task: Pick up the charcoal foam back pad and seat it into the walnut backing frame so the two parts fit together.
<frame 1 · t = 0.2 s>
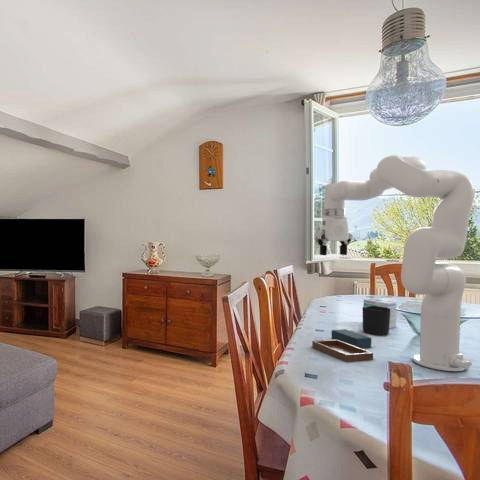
hand: (333, 254, 166), 31 cm above the table, tool pointing down, fingers open, 9 cm apart
back pad: (350, 343, 146), on the table
backing frame: (341, 353, 135), on the table
light bulb box: (379, 325, 173), on the table
pen holder: (375, 333, 161), on the table
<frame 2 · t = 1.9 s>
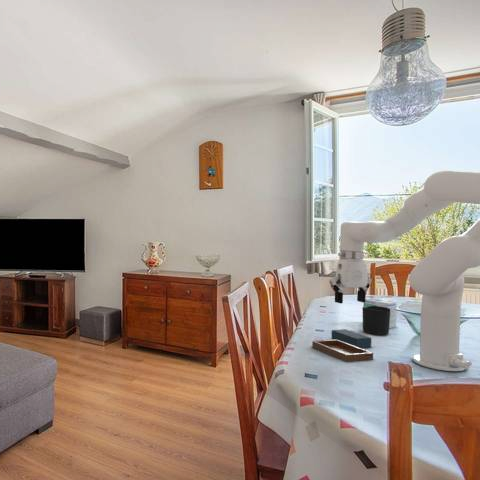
hand: (350, 302, 147), 15 cm above the table, tool pointing down, fingers open, 9 cm apart
nothing on the table moved.
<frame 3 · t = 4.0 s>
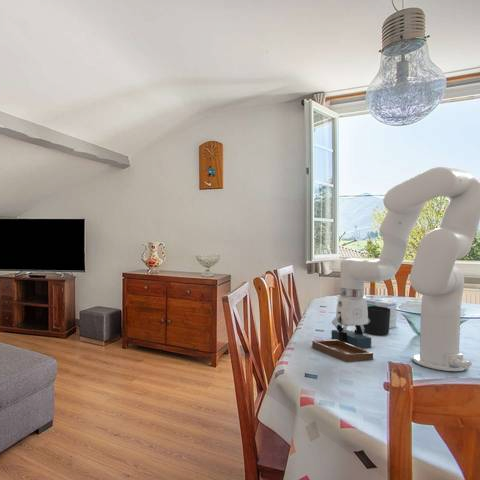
hand: (350, 341, 146), 1 cm above the table, tool pointing down, fingers closed on back pad, 6 cm apart
back pad: (350, 343, 146), on the table, touching gripper
everything else where it was.
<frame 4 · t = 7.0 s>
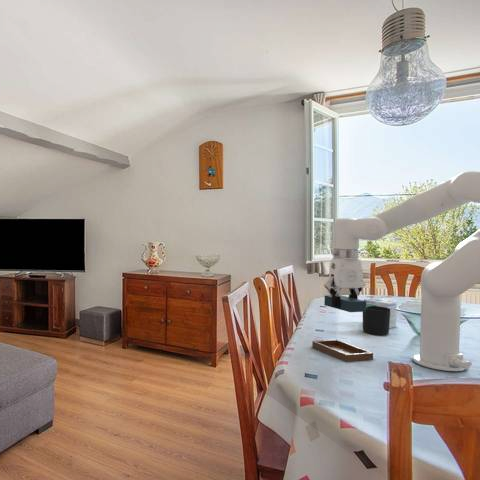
hand: (344, 306, 137), 15 cm above the table, tool pointing down, fingers closed on back pad, 6 cm apart
back pad: (344, 308, 137), point 15 cm above the table, touching gripper
everything else where it was.
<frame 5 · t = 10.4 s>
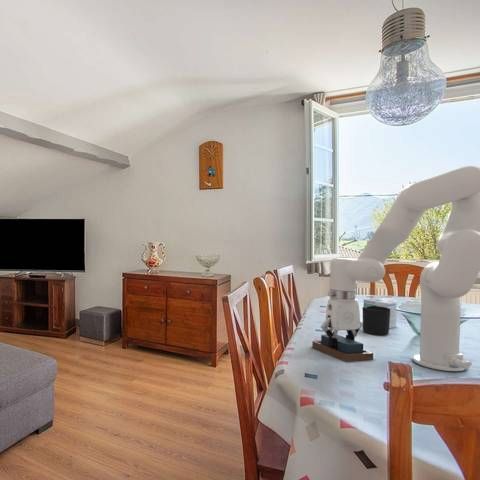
hand: (341, 347, 135), 2 cm above the table, tool pointing down, fingers closed on back pad, 6 cm apart
back pad: (341, 349, 135), point 1 cm above the table, touching gripper
everything else where it was.
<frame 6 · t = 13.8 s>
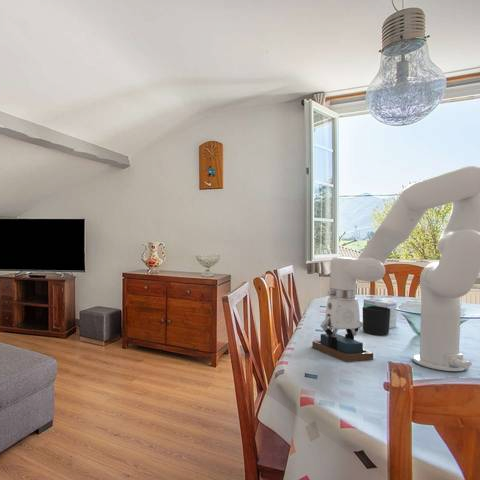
hand: (340, 346, 135), 2 cm above the table, tool pointing down, fingers closed on back pad, 6 cm apart
back pad: (340, 348, 135), point 2 cm above the table, touching gripper
everything else where it was.
when the fingers open (2 cm above the table, at t = 17.1 s): back pad drops 1 cm, resting on backing frame.
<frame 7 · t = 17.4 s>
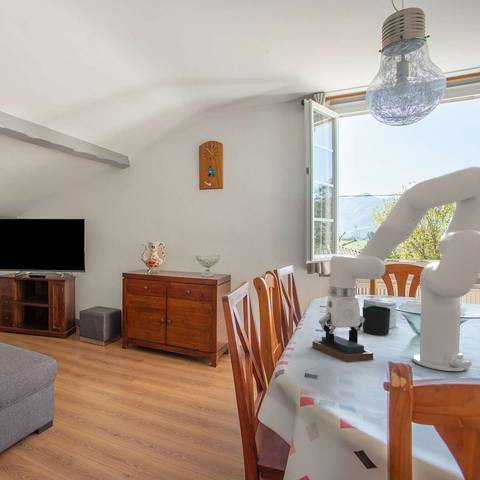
hand: (341, 343, 135), 3 cm above the table, tool pointing down, fingers open, 8 cm apart
back pad: (341, 351, 135), point 1 cm above the table, touching backing frame
everything else where it was.
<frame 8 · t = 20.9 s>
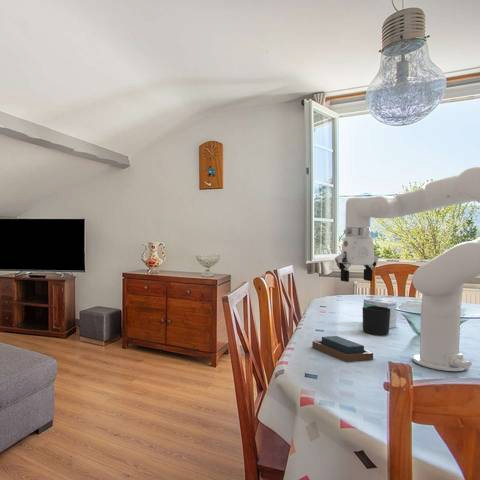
hand: (356, 280, 142), 23 cm above the table, tool pointing down, fingers open, 9 cm apart
nothing on the table moved.
at the end: back pad 0.2 cm off-centre in the backing frame, point 0.6 cm above the backing frame's base; back pad tilted 0°; the gripper is holding nothing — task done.
